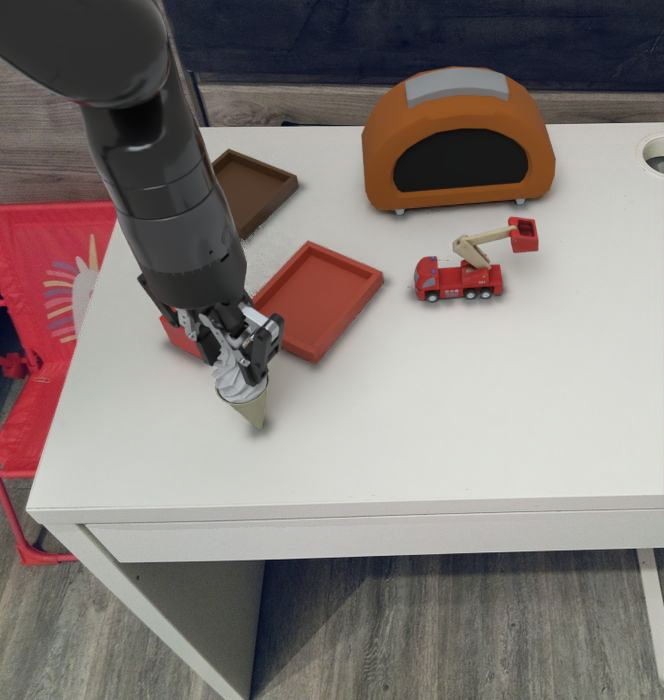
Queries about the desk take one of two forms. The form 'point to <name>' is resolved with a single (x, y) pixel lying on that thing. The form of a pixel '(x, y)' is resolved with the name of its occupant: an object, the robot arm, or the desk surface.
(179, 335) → the red block
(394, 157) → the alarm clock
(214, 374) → the ice cream cone
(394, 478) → the desk surface
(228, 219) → the robot arm
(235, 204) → the brown tray
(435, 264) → the toy fire truck
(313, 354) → the red tray
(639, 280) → the desk surface
